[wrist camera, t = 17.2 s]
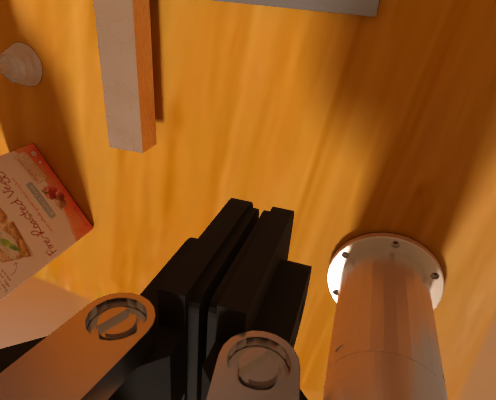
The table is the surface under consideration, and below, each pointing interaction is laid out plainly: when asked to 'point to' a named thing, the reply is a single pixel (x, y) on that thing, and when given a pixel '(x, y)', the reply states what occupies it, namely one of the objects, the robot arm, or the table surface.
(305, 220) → the table surface
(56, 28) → the table surface
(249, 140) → the table surface
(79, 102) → the table surface
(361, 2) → the label board
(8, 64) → the chalice
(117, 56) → the swing bar
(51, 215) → the cracker box
